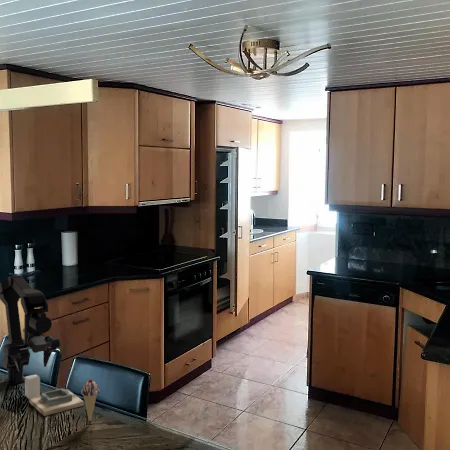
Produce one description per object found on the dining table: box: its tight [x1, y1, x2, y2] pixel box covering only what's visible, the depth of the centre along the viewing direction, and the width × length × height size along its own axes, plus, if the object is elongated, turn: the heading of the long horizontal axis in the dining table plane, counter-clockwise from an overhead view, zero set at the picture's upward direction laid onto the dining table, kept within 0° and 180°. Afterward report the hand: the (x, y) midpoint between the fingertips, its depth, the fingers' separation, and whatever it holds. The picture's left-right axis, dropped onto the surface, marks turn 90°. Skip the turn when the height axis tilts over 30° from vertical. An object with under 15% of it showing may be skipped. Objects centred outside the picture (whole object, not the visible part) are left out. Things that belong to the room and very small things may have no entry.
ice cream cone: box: [80, 379, 100, 425], centre depth 162 cm, size 6×6×15 cm
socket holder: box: [28, 387, 85, 417], centre depth 177 cm, size 14×14×4 cm
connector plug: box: [24, 374, 41, 400], centre depth 183 cm, size 4×4×7 cm
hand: (32, 369), depth 183 cm, fingers open, 9 cm apart
